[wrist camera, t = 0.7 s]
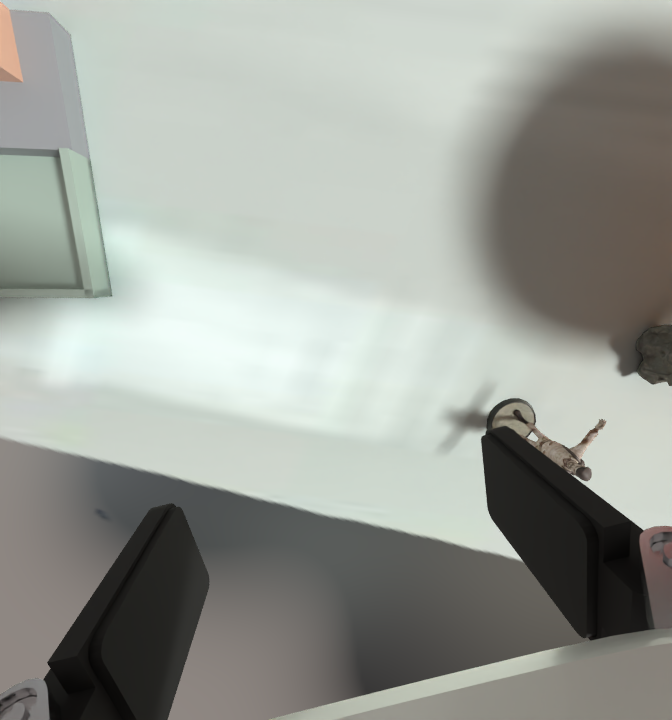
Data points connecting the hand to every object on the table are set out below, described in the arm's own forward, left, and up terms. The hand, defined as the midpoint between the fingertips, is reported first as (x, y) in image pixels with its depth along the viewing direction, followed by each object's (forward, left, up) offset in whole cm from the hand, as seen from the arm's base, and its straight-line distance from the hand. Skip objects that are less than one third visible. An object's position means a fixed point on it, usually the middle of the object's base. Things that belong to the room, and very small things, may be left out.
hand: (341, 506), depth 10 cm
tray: (-11, -30, -29) cm, 43 cm away
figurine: (+12, +26, -29) cm, 41 cm away
